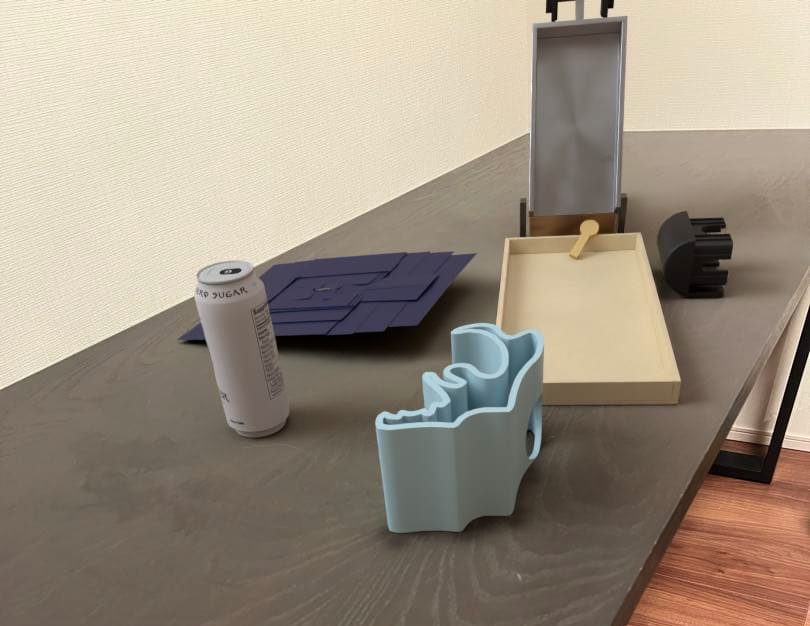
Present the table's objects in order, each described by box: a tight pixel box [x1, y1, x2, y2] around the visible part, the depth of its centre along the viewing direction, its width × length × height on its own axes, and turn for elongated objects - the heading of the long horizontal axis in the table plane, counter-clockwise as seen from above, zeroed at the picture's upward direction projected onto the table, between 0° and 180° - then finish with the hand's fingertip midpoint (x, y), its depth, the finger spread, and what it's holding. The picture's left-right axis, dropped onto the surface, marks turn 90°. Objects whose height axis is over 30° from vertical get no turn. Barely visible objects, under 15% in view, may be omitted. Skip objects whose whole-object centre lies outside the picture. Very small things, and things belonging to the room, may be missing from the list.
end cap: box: [656, 210, 734, 299], centre depth 91 cm, size 10×7×7 cm
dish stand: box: [519, 192, 628, 237], centre depth 111 cm, size 14×19×6 cm
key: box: [569, 220, 599, 259], centre depth 101 cm, size 6×2×1 cm
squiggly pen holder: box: [374, 322, 544, 534], centre depth 64 cm, size 18×10×9 cm, turn 162°
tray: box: [495, 232, 682, 406], centre depth 88 cm, size 17×39×2 cm, turn 172°
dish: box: [528, 0, 628, 218], centre depth 98 cm, size 11×26×3 cm
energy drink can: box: [193, 259, 291, 438], centre depth 71 cm, size 6×6×15 cm
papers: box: [177, 250, 478, 341], centre depth 95 cm, size 24×30×4 cm
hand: (578, 16), depth 96 cm, fingers closed on dish, 5 cm apart
